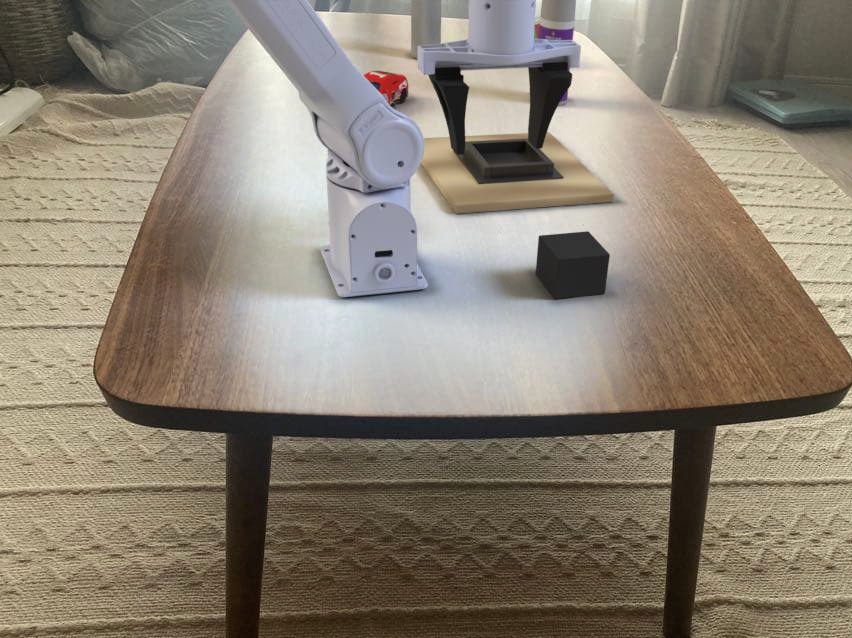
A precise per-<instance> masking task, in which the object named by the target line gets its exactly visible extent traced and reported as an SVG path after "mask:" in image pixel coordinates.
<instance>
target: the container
mask: <svg viewBox="0 0 852 638" xmlns="http://www.w3.org/2000/svg"><path fill="white" fill-rule="evenodd" d="M540 7H541V8H540V17H539V21H540V22H539V23H540V25H539V39H548V40H573V41H574V33H575V22H576V7H577V0H541V6H540ZM567 70H568V71H569V72H571V68H568V69H567ZM568 94H569V89H568V90H567V91H566V93H565V94H564V96H563V98H562V99H561V101H560V103H559V105H558V106H564V105H566V104H567V103H568V97H569V96H568ZM558 106H557V107H558Z"/></svg>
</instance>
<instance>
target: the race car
mask: <svg viewBox="0 0 852 638" xmlns="http://www.w3.org/2000/svg"><path fill="white" fill-rule="evenodd" d="M363 76H364V77H365V78H366V79H367V80H368V81H369V82H370V83H371V84H372V85H373V86H374V87H375V88H376V89H377V90H378V91H379V92H380V93H381V94H382V96H383V97H384V98H385V100H386V101H387V103H388V104H389V105H390V106H391V107H392V108H394V107H395V106H396V105H398V104H403V103H405V102H406V99H407V98H408V96H409V82H408V78H407V77H406V75H404V74H402V73H396V72H389V71H383V70H371V71H369V72H366V73H365V74H363Z"/></svg>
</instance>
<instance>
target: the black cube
mask: <svg viewBox="0 0 852 638" xmlns="http://www.w3.org/2000/svg"><path fill="white" fill-rule="evenodd" d="M610 257H611V254H610V253H609V252H608V251H607V250H606V249H605V247H603V246H602V244H601V243H600V242H599V241H598V240H597V239H596V238H595V236H593V235H592V233H591V232H590V231H588V230H587V231H586V230H585V231H576V232H575V231H574V232H565V233H563V232H562V233H551V234H541V235H538V241H537V251H536V262H535V263H536V264H535V276H536V277H537V278H538V280H539V281H540V282H541V284H542V285H543V286H544V287H545V289H546V290H547V292H548V293H549V295H550V296H551V297H552V298H553V299H554V300H561V299H570V298H578V297H579V298H580V297H588V296H598V295H605V294H606V288H607V287H606V286H607V279H608V272H609V264H610Z"/></svg>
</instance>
